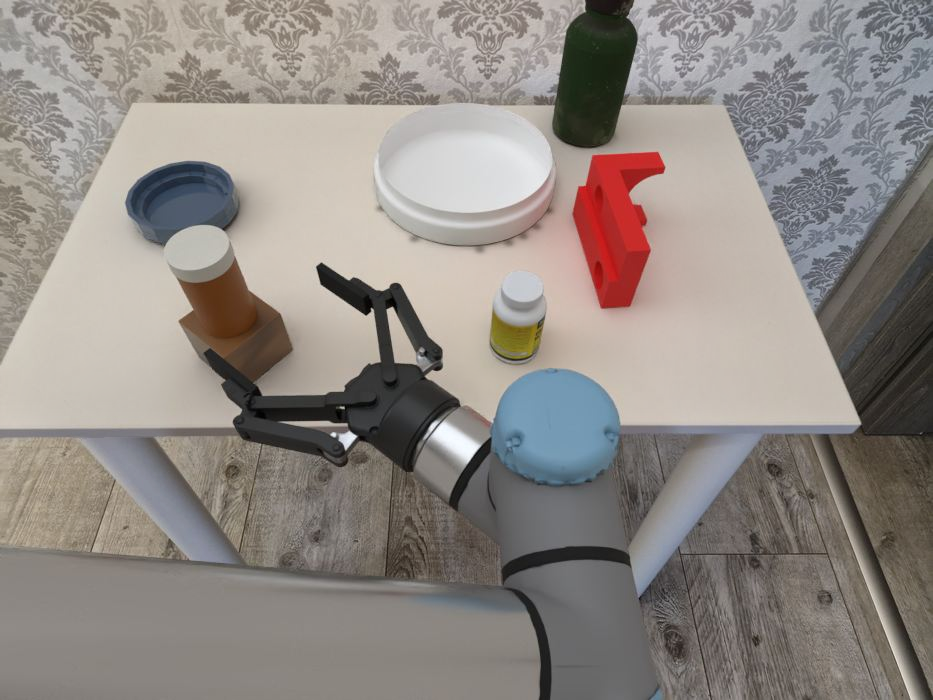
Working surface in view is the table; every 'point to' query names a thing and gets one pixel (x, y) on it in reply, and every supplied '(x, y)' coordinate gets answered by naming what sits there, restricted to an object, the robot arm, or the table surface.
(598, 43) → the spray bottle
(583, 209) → the bracket
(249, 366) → the riser
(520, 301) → the pill bottle
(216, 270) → the vitamin bottle
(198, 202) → the bowl
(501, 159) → the round white tray
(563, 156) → the table surface
